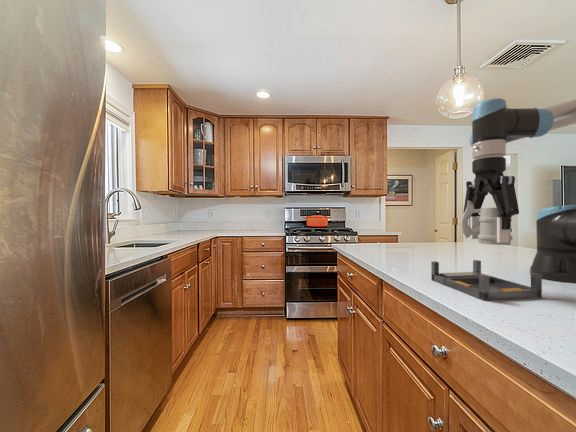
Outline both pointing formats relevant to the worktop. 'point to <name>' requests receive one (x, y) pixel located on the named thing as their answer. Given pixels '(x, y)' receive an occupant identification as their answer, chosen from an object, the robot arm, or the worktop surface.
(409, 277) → the worktop surface
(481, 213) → the mug
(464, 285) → the tray
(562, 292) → the worktop surface
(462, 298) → the worktop surface
